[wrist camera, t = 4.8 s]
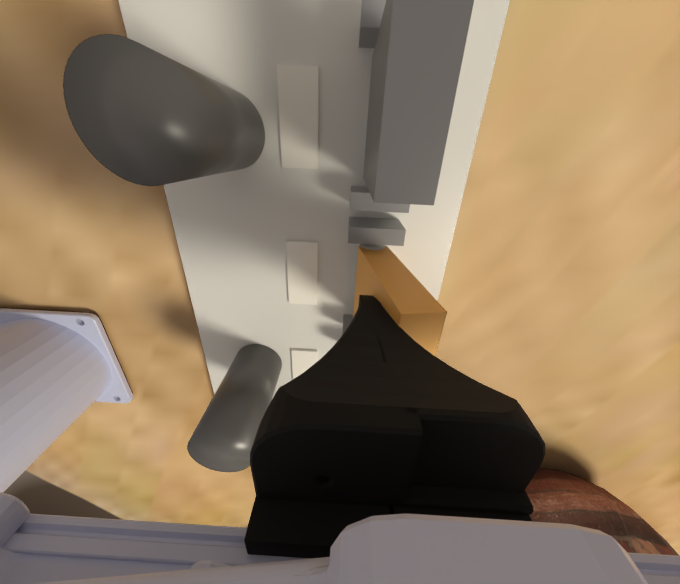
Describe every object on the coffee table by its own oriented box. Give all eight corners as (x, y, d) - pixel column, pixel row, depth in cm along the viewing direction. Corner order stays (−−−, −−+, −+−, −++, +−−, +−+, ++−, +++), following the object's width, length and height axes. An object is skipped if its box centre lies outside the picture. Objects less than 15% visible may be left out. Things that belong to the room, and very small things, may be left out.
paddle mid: (350, 312, 15) (384, 412, 10) (355, 239, 13) (401, 311, 8) (374, 311, 16) (421, 408, 10) (383, 239, 14) (448, 309, 8)
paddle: (362, 178, 12) (373, 207, 6) (371, 58, 10) (399, -58, 4) (393, 180, 12) (432, 209, 6) (408, 60, 10) (484, -54, 4)
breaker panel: (225, 402, 22) (173, 510, 15) (128, -41, 10) (-232, -347, 4) (404, 412, 21) (427, 525, 15) (503, -26, 10) (759, -314, 4)
